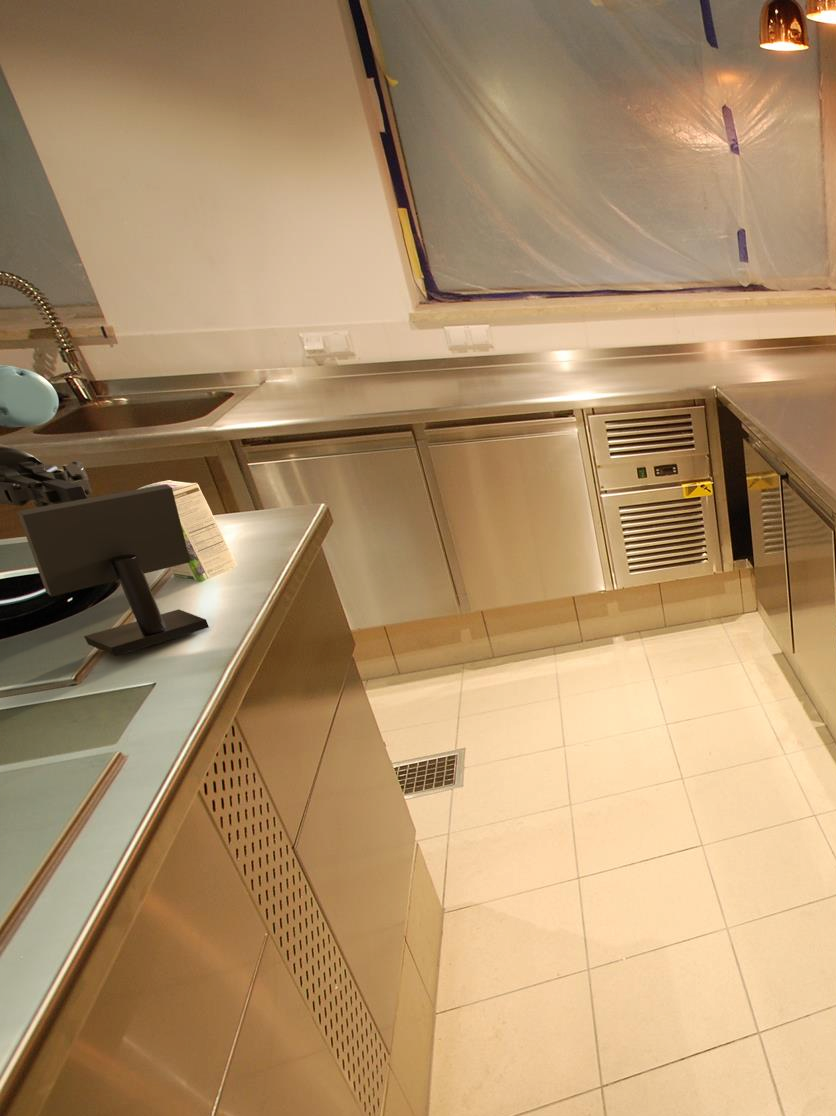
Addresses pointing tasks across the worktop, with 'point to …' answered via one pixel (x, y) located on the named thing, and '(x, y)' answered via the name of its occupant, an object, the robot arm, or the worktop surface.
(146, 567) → the monitor screen
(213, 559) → the syrup box
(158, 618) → the monitor stand
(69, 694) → the worktop surface
